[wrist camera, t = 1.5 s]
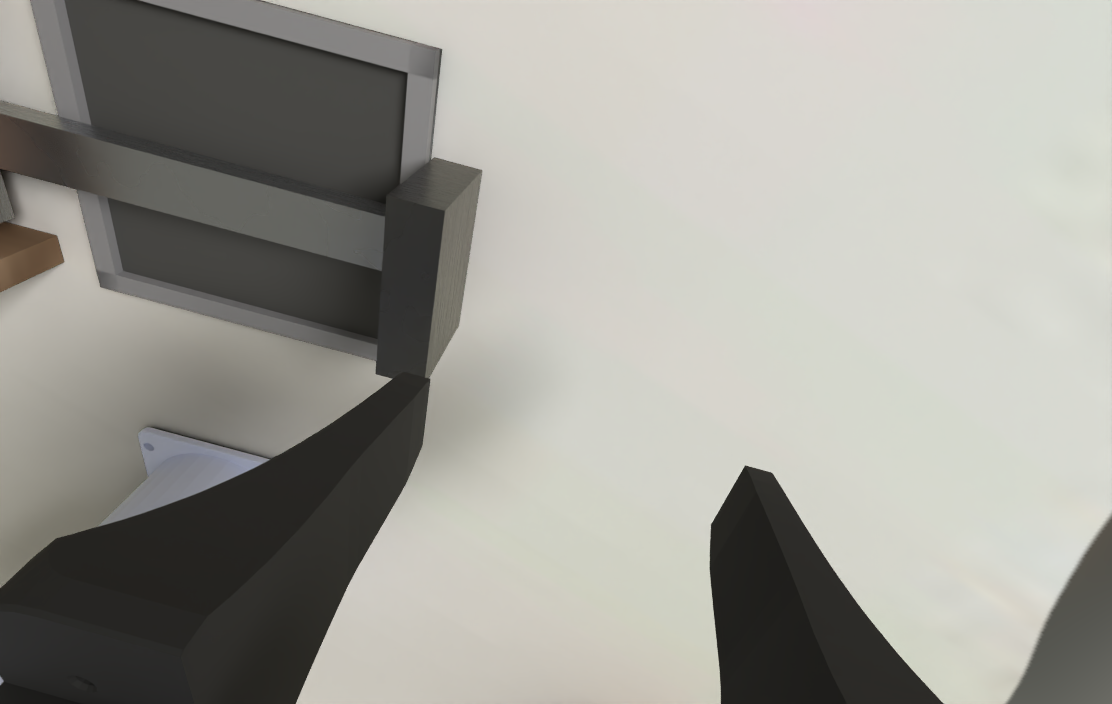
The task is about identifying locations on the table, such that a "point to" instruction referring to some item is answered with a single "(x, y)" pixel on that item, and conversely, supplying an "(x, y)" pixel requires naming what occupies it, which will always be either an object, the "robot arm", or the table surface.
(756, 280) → the table surface
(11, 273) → the tunnel
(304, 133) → the grey flat square panel
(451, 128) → the table surface
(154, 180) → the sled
